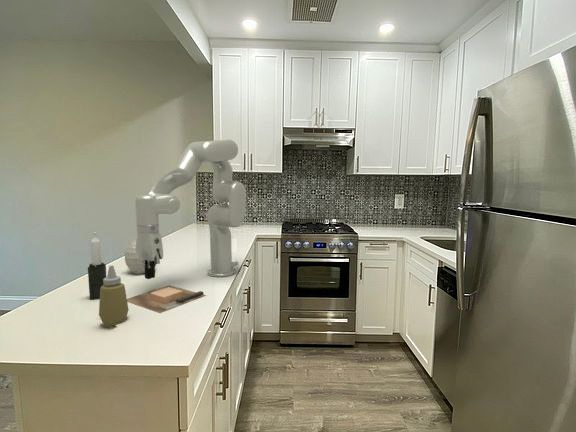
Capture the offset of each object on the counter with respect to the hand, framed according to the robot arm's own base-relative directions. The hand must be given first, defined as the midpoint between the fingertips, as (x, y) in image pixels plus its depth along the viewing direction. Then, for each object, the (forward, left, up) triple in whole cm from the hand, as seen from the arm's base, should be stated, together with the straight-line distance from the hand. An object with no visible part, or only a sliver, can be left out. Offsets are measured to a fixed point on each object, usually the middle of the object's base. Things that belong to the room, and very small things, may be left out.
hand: (150, 277), depth 129 cm
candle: (+13, -12, -7) cm, 19 cm away
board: (0, +9, -7) cm, 11 cm away
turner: (-1, +17, -6) cm, 18 cm away
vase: (-17, -32, -7) cm, 37 cm away
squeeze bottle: (+21, +12, -7) cm, 25 cm away
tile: (0, +5, -5) cm, 7 cm away
